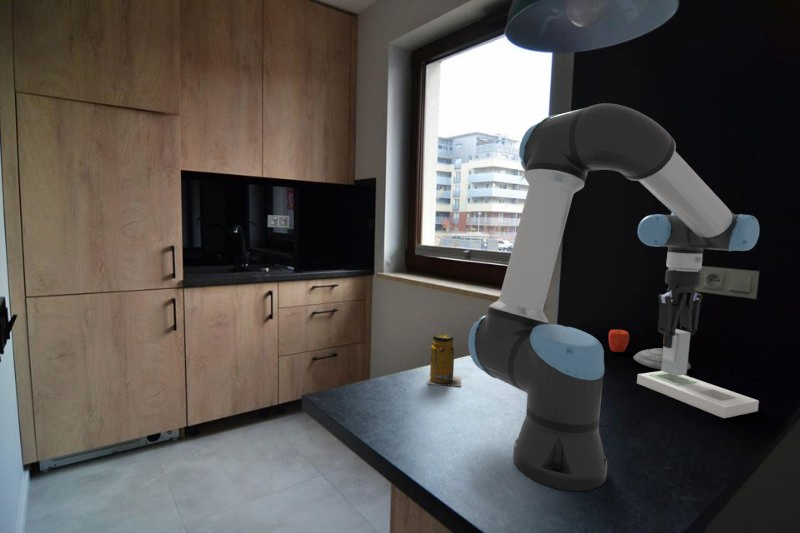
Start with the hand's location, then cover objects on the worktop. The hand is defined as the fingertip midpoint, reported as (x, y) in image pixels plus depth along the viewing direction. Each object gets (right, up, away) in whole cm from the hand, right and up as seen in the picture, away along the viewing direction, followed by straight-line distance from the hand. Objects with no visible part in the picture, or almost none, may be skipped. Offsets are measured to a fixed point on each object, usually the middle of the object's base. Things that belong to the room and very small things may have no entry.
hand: (674, 358), depth 113 cm
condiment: (-60, -6, +1) cm, 60 cm away
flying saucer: (+8, -7, +20) cm, 22 cm away
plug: (0, -4, 0) cm, 4 cm away
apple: (+2, -5, +33) cm, 34 cm away
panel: (+2, -8, -4) cm, 10 cm away
